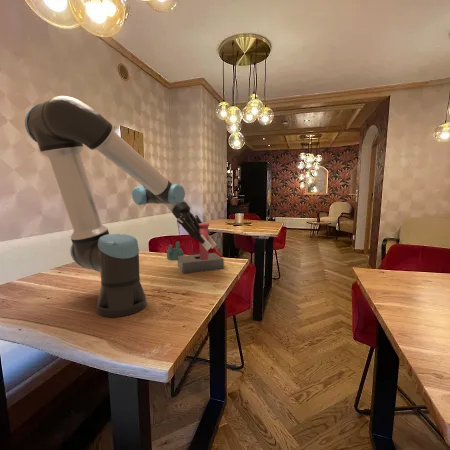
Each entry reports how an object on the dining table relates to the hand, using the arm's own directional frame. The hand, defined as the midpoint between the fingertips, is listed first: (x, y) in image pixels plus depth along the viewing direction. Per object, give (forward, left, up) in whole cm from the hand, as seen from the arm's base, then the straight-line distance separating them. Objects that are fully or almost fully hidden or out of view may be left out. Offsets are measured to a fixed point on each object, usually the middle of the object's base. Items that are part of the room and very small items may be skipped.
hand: (211, 247), depth 107 cm
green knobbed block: (-9, +44, -15) cm, 47 cm away
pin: (-3, +3, -5) cm, 6 cm away
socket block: (0, +22, -14) cm, 26 cm away
